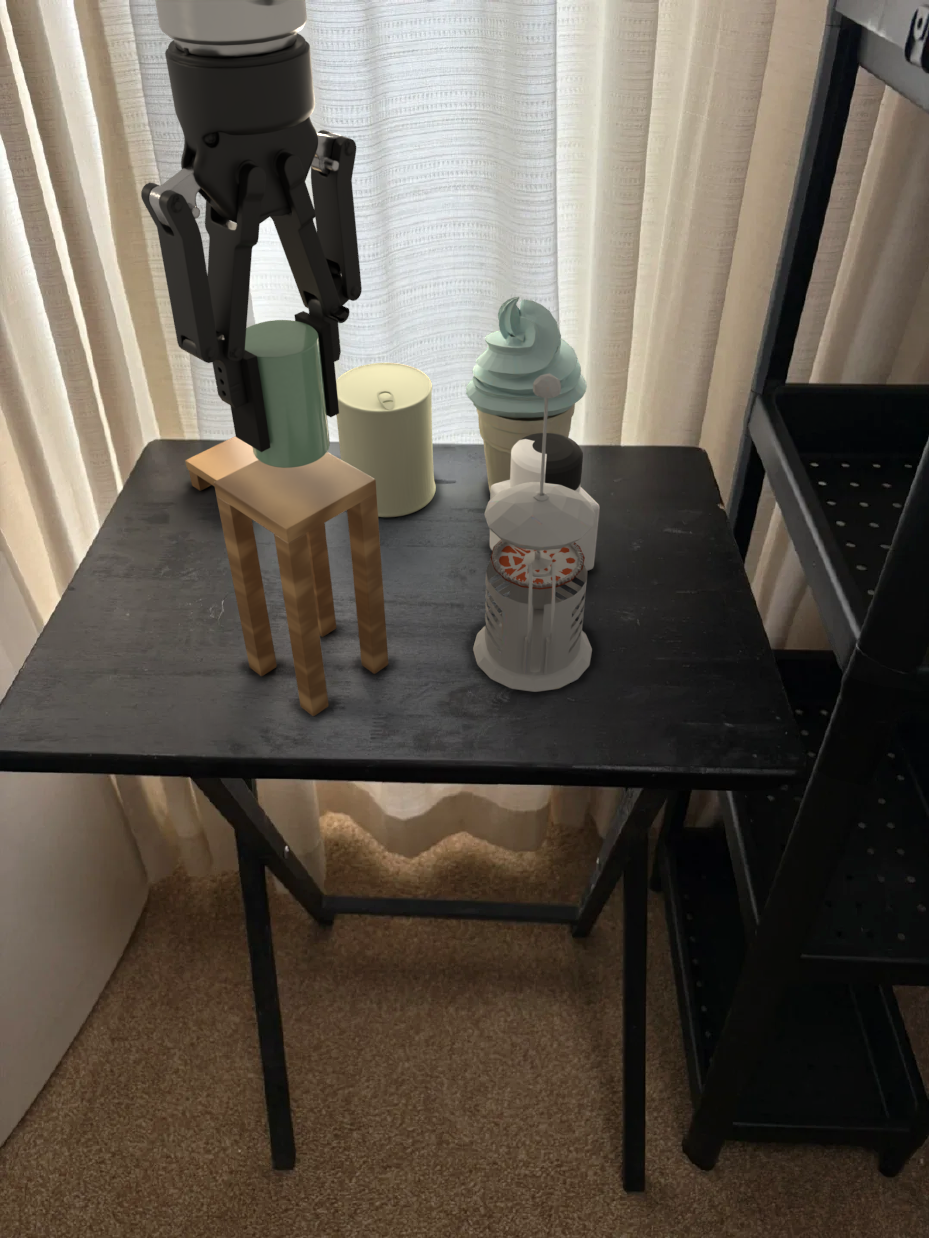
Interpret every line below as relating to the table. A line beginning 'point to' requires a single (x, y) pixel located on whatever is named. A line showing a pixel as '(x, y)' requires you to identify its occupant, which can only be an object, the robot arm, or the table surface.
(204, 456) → the stand
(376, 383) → the can
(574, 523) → the french press
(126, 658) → the table surface
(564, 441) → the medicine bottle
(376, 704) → the table surface
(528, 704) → the table surface
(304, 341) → the green cylinder
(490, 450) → the ice cream cone
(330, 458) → the front shelf
